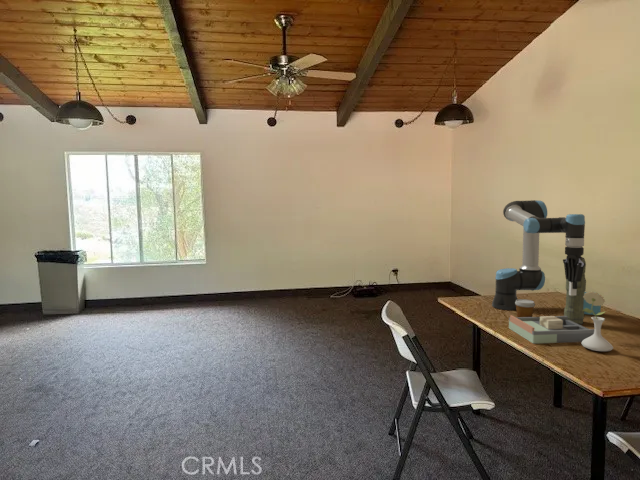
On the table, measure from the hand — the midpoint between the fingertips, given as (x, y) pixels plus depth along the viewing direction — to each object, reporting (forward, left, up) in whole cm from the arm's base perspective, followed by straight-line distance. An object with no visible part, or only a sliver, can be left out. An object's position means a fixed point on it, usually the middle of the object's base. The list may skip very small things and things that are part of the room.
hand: (572, 295), depth 190 cm
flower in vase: (+19, -2, -20) cm, 27 cm away
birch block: (0, -10, -15) cm, 18 cm away
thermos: (-17, +13, -19) cm, 29 cm away
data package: (-32, +31, -20) cm, 49 cm away
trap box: (0, -9, -19) cm, 21 cm away
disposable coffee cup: (-18, -13, -20) cm, 30 cm away
